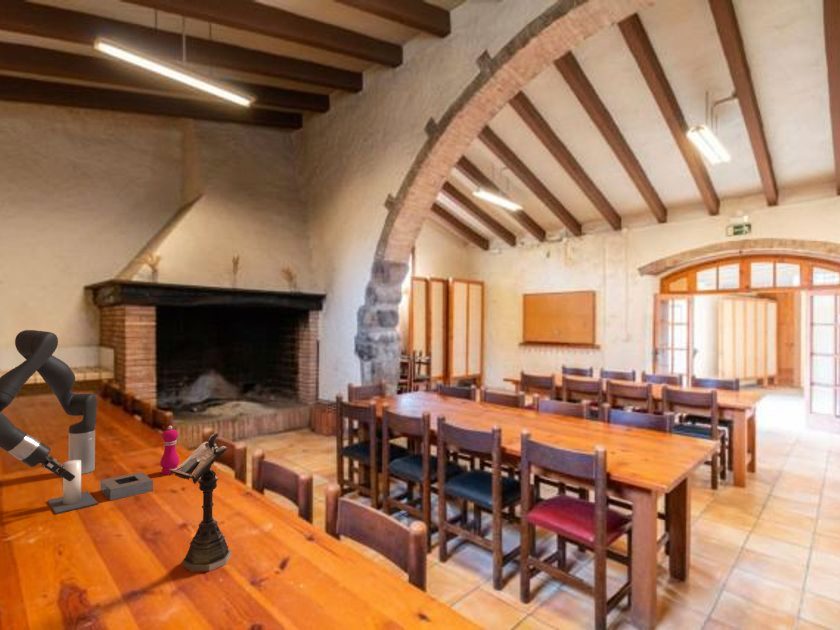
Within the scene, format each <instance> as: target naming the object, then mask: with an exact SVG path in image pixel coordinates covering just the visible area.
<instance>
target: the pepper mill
mask: <svg viewBox="0 0 840 630" xmlns="http://www.w3.org/2000/svg"><path fill="white" fill-rule="evenodd" d="M161 437H162V440H163V446H164V451H163V455H162V456H161V459H160V467H161V468H162V469H161V474H162V475H165V476H169V474H170V473H171V472H170V471H169V470H170V469H176V468H177V467H178V466H179V465H180V458H179V457H180V456H179V455H178V453H177V450H176V445H177V439H178V437H179V433H178V431H177V430H176V429H173V426H172V425H169V426H168V427H167V429H166V430H164V431H163V432H162V435H161ZM176 471H179V470H176ZM171 475H175V473H172V474H171Z"/></svg>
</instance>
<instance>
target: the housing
mask: <svg viewBox="0 0 840 630" xmlns="http://www.w3.org/2000/svg"><path fill="white" fill-rule="evenodd" d="M153 491H154V479H152V478H150V476H148V475H147V474H145V473H144V472H142V471H138V472H135V473H134V472H133V473H130V474H129V473H128V474H124V475H119V476H115V477H111V478H110V477H108V478H104V479H100V492H102V494H103V495H104V496H105V497H106V498H107V499H108V500H109V501H115V500H119V499H124V498H127V497H132V496H137V495H141V494H145V493H149V492H153Z"/></svg>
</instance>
